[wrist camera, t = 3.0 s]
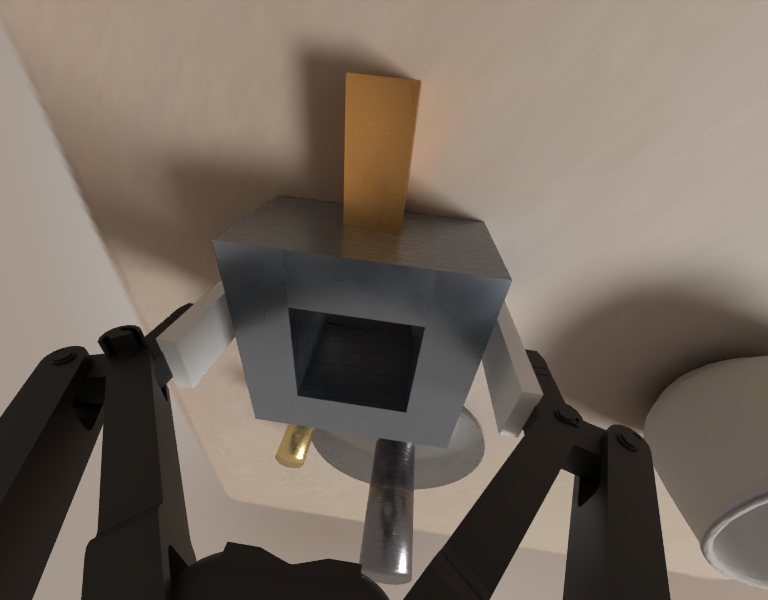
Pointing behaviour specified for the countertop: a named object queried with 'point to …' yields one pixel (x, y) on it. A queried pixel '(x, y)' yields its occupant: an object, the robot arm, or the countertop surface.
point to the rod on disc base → (398, 486)
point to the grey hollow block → (363, 290)
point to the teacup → (718, 461)
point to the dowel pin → (294, 445)
